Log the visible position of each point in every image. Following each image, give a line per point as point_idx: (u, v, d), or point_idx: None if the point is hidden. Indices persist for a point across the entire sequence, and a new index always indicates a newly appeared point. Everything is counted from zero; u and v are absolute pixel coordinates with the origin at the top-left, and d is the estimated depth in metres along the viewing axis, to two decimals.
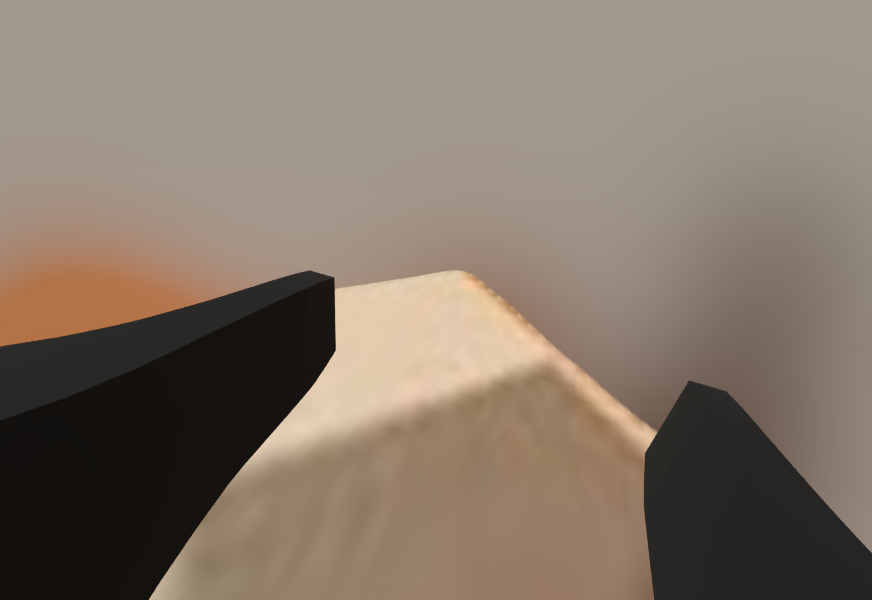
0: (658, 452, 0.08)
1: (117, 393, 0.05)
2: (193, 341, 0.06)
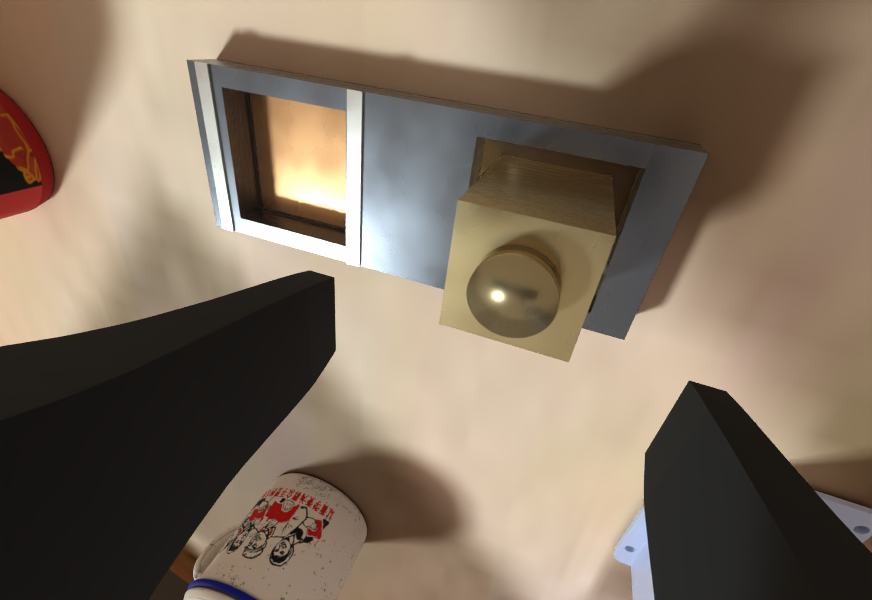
0: (658, 452, 0.08)
1: (117, 393, 0.05)
2: (193, 341, 0.06)
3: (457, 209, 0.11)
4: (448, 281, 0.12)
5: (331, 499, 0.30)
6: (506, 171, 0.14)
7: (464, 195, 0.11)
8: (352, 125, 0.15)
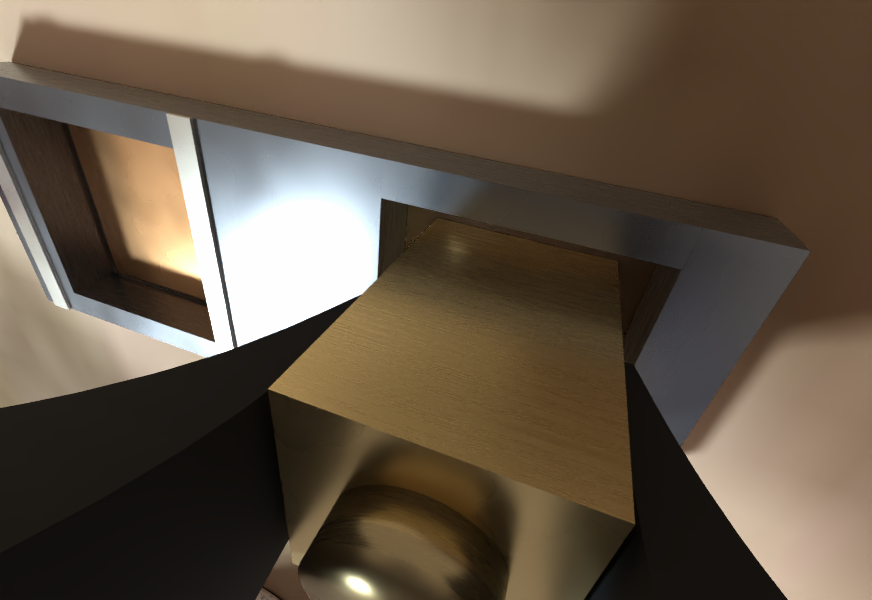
0: None
1: (225, 437, 0.05)
2: None
3: (271, 406, 0.05)
4: (290, 512, 0.06)
5: None
6: (426, 267, 0.08)
7: (297, 364, 0.05)
8: (186, 172, 0.09)
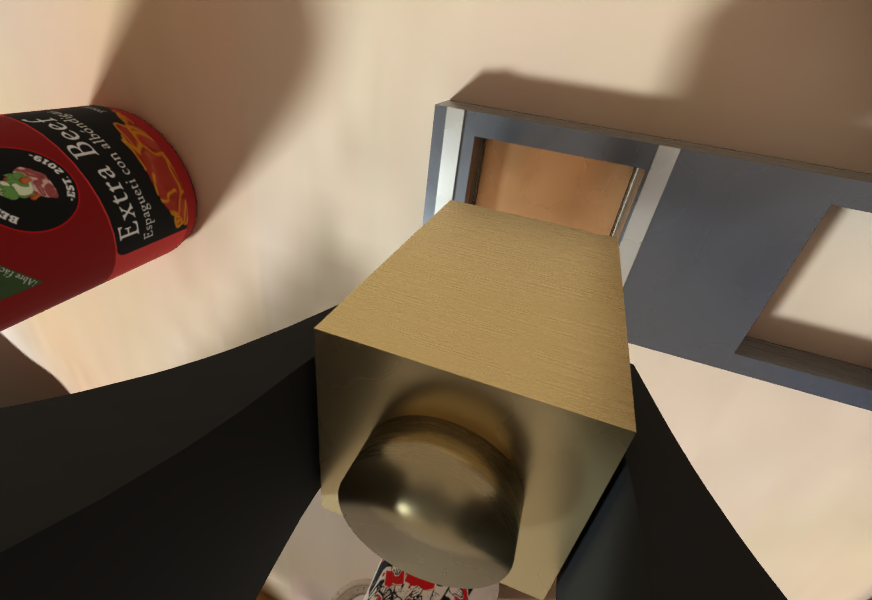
0: None
1: (225, 437, 0.05)
2: (286, 374, 0.06)
3: (316, 344, 0.06)
4: (324, 452, 0.07)
5: None
6: (443, 239, 0.08)
7: (336, 311, 0.06)
8: (652, 186, 0.13)
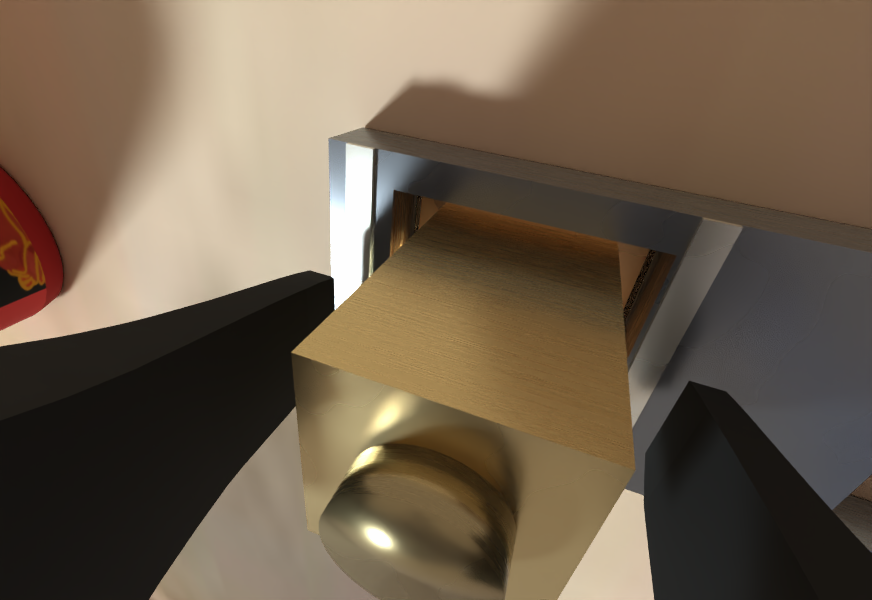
0: (658, 452, 0.08)
1: (117, 393, 0.05)
2: (193, 341, 0.06)
3: (293, 369, 0.05)
4: (307, 477, 0.06)
5: None
6: (435, 249, 0.08)
7: (316, 331, 0.05)
8: (687, 283, 0.08)
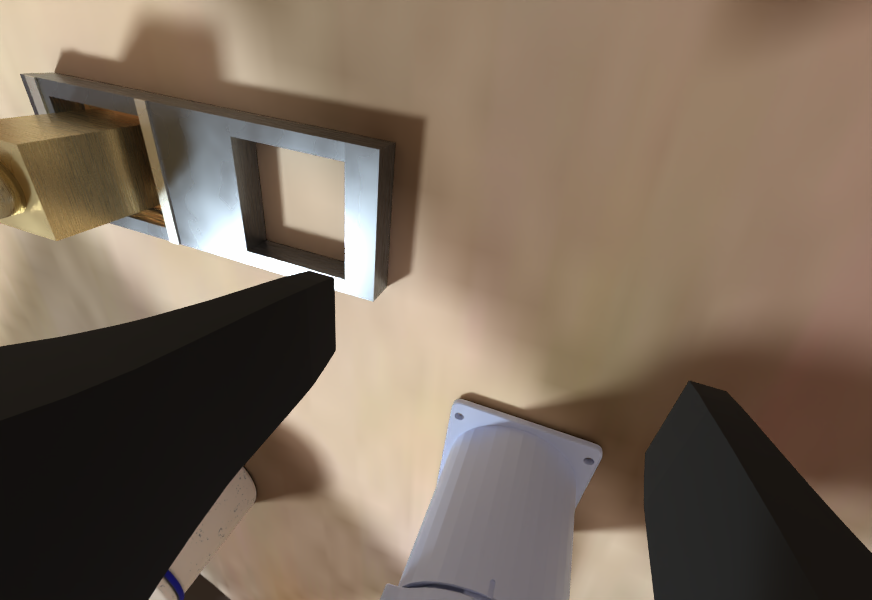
0: (658, 452, 0.08)
1: (117, 393, 0.05)
2: (193, 341, 0.06)
3: None
4: None
5: None
6: (52, 116, 0.19)
7: None
8: (144, 127, 0.19)
